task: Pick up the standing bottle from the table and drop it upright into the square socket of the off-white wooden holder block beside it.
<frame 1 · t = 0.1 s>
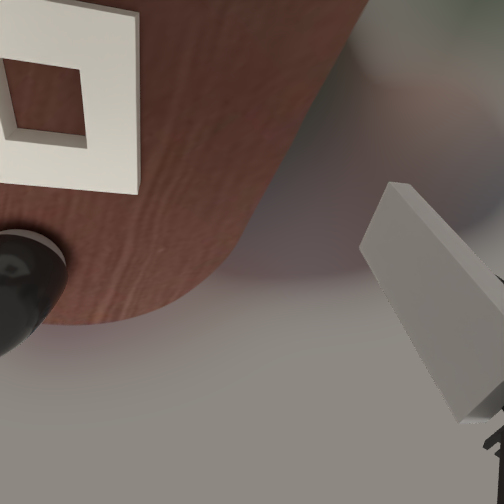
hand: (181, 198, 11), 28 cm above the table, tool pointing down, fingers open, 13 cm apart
socket holder: (50, 96, 34), on the table
pump dispenser: (30, 250, 45), on the table
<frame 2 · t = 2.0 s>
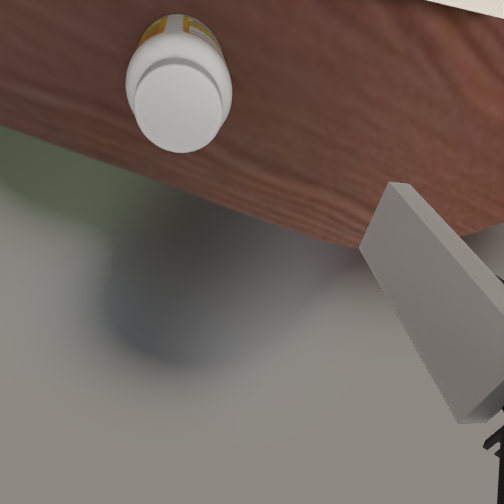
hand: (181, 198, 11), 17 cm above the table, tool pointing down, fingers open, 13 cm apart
supplement bottle: (181, 61, 24), on the table
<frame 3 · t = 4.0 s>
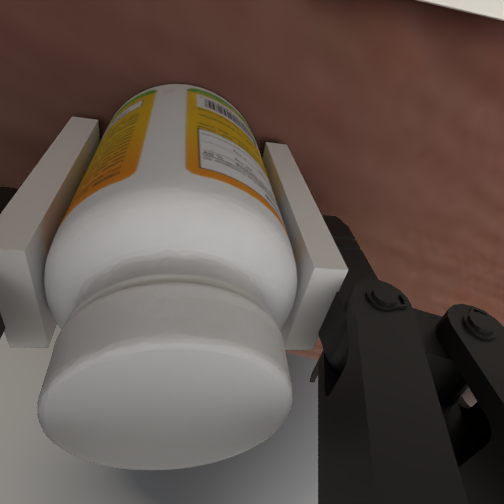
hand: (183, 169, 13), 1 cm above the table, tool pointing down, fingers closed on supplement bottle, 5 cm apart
supplement bottle: (183, 157, 14), on the table, touching gripper
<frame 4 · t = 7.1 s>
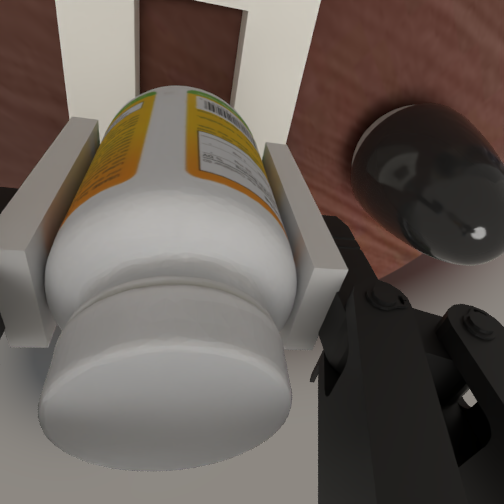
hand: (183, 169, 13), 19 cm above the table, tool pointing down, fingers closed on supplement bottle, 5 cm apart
supplement bottle: (183, 158, 14), point 18 cm above the table, touching gripper
socket holder: (189, 52, 27), on the table
pump dispenser: (391, 147, 34), on the table
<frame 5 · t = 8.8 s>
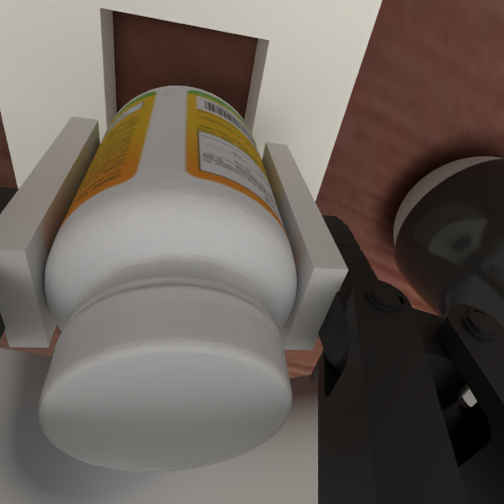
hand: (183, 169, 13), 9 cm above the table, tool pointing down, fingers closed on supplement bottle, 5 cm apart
supplement bottle: (183, 158, 14), point 8 cm above the table, touching gripper
socket holder: (183, 91, 20), on the table
pump dispenser: (441, 201, 27), on the table
when the fingers open (4 cm above the table, at t = 10.1 s): supplement bottle drops 3 cm, resting in socket holder.
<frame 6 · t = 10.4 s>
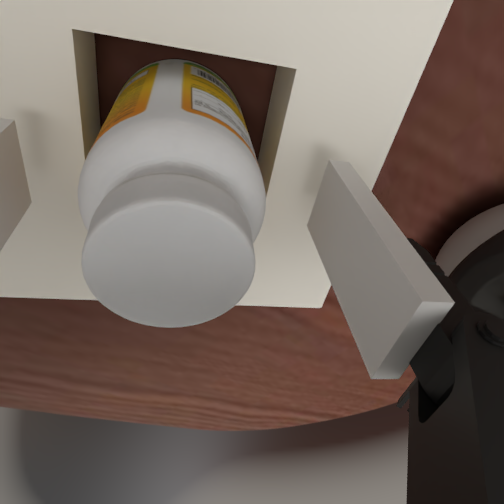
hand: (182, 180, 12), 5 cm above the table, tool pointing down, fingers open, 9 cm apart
supplement bottle: (181, 123, 16), resting in socket holder
socket holder: (184, 125, 16), on the table
pump dispenser: (484, 243, 23), on the table
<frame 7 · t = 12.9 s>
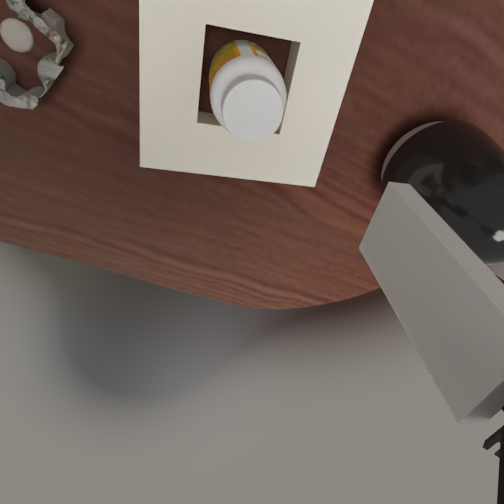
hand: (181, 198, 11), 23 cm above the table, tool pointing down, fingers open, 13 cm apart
supplement bottle: (240, 74, 31), resting in socket holder
socket holder: (242, 75, 31), on the table
pump dispenser: (416, 157, 38), on the table
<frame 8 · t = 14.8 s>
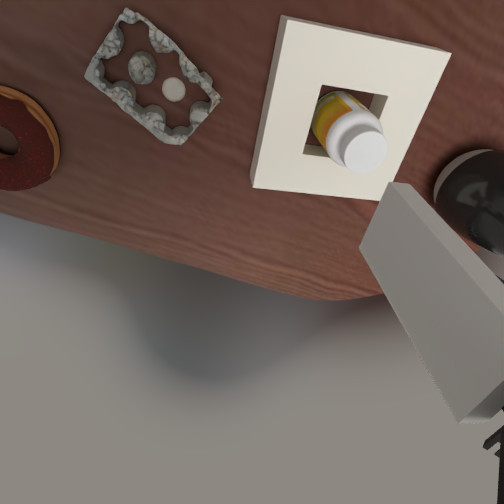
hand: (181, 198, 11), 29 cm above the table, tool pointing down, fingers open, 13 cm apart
supplement bottle: (332, 115, 40), resting in socket holder
socket holder: (335, 116, 40), on the table
donut: (11, 133, 37), on the table
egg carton: (158, 77, 36), on the table
pump dispenser: (460, 175, 47), on the table
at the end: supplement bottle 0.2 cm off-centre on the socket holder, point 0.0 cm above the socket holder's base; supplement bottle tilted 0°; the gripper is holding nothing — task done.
